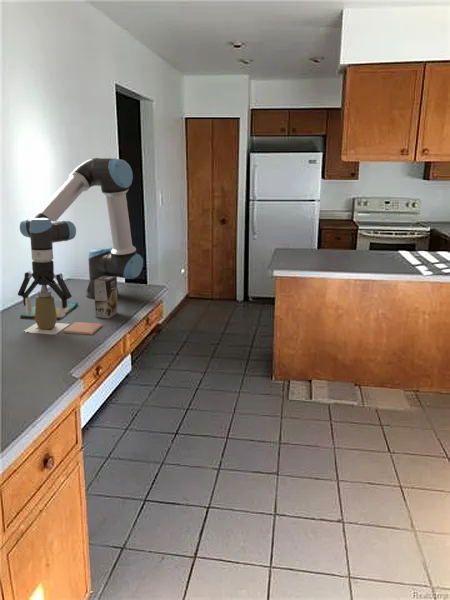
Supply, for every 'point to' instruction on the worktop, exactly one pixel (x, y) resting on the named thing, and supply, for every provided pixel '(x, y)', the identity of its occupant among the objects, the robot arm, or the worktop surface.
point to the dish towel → (70, 307)
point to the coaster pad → (83, 328)
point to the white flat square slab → (53, 331)
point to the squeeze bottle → (45, 309)
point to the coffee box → (105, 296)
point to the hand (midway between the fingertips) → (45, 315)
